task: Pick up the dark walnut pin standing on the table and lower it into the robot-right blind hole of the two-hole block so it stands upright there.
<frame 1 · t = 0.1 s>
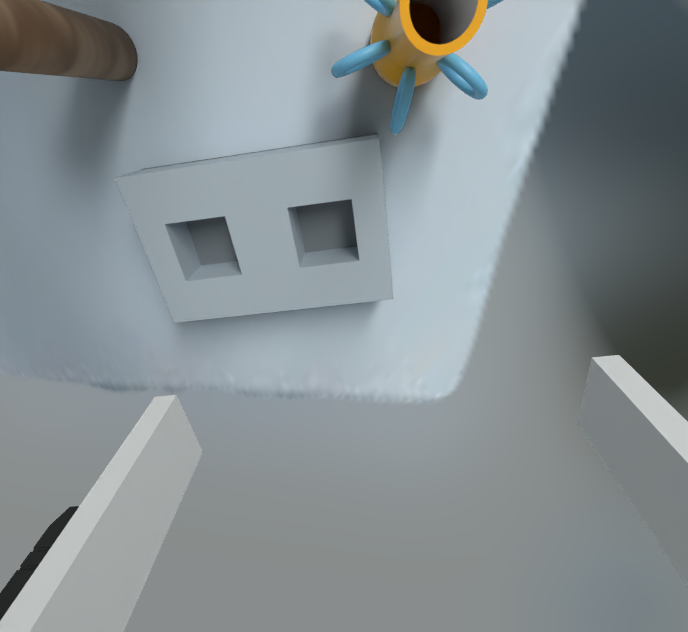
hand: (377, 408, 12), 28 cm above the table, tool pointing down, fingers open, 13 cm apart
pin: (112, 52, 31), on the table
hole block: (274, 226, 38), on the table
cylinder: (406, 46, 31), on the table
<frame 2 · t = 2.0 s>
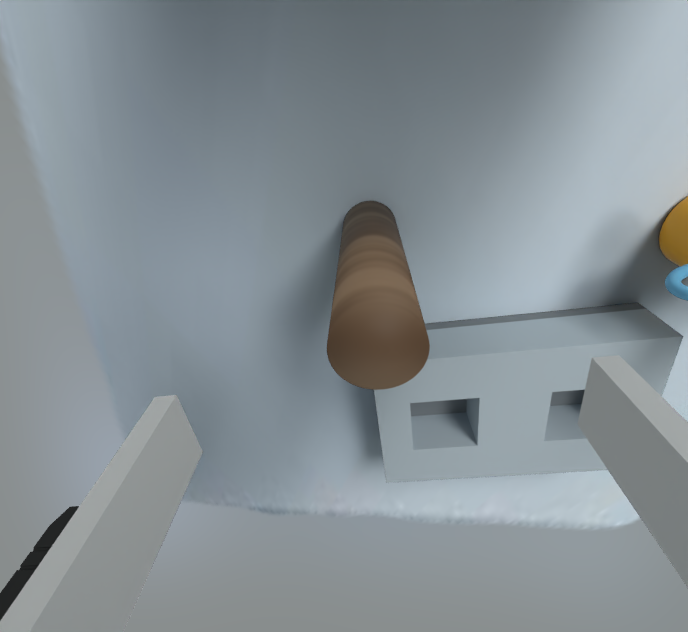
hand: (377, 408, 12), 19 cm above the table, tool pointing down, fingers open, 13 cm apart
pin: (369, 227, 29), on the table
hole block: (494, 380, 35), on the table
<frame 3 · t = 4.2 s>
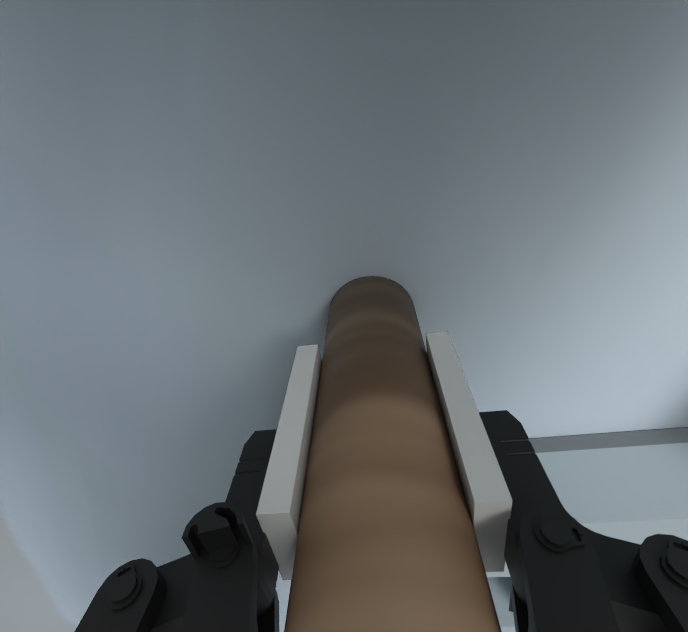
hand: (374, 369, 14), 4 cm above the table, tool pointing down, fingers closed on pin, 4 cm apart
pin: (371, 315, 18), on the table, touching gripper
hole block: (549, 512, 25), on the table
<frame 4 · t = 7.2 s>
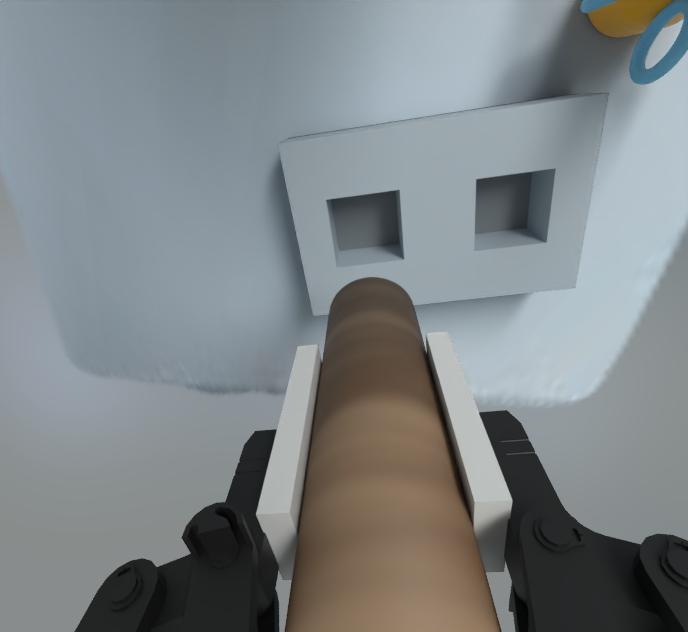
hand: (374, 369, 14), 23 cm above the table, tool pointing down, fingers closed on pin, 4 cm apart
pin: (371, 316, 18), point 18 cm above the table, touching gripper
hole block: (427, 205, 33), on the table
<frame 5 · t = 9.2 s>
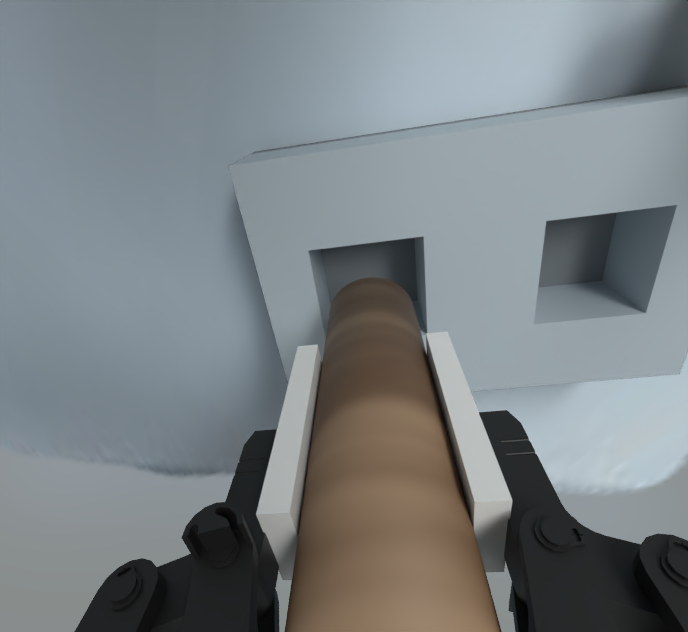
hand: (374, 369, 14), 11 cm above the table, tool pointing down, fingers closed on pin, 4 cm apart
pin: (371, 316, 18), point 7 cm above the table, touching gripper
hole block: (458, 248, 23), on the table
when the fingers open (7 cm above the table, at t = 10.7 s): pin drops 2 cm, resting on hole block.
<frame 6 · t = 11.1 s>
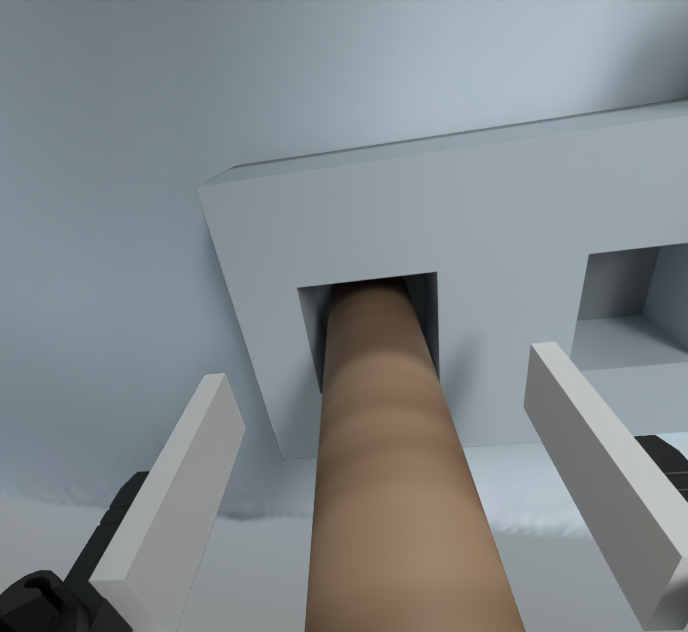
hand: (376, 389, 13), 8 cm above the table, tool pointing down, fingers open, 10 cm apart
pin: (368, 297, 20), point 1 cm above the table, touching hole block
hole block: (474, 276, 20), on the table
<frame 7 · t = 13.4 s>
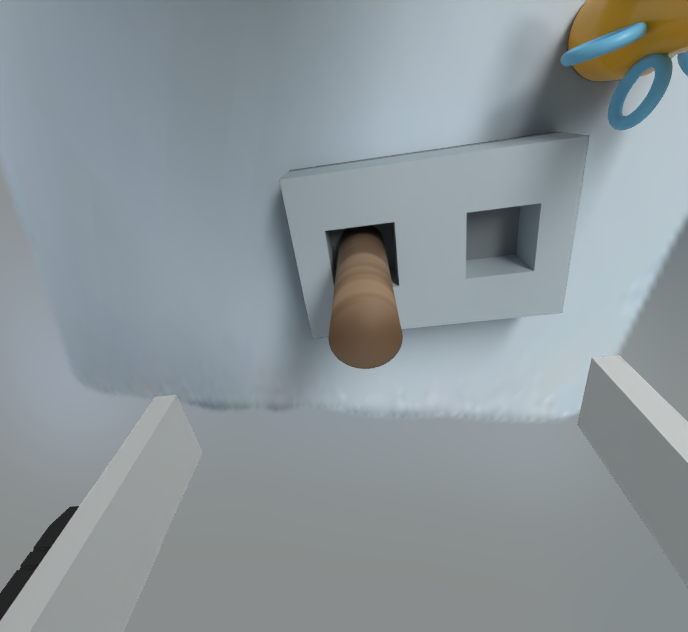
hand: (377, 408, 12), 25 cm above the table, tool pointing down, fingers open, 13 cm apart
pin: (361, 244, 35), point 1 cm above the table, touching hole block
hole block: (422, 233, 35), on the table
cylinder: (607, 34, 28), on the table
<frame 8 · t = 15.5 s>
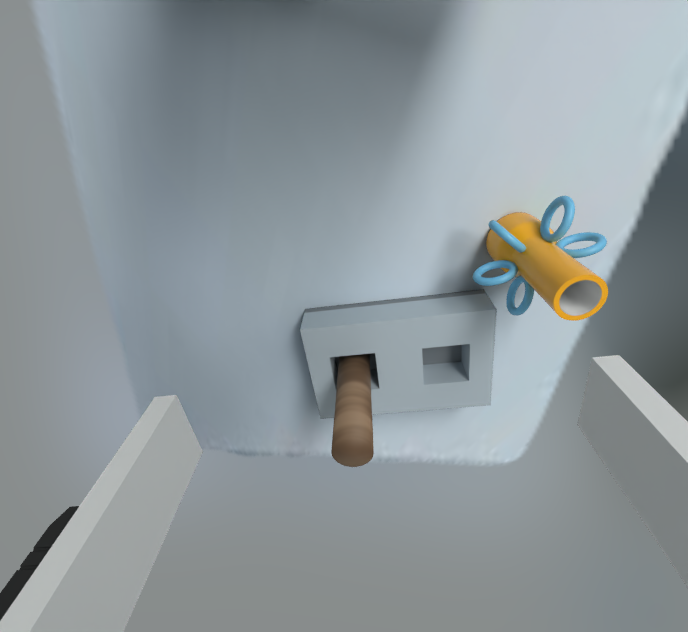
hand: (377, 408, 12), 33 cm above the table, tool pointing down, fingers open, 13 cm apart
pin: (354, 354, 50), point 1 cm above the table, touching hole block
hole block: (396, 346, 50), on the table
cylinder: (512, 238, 43), on the table
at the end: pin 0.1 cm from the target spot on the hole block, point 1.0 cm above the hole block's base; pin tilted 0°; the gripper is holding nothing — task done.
